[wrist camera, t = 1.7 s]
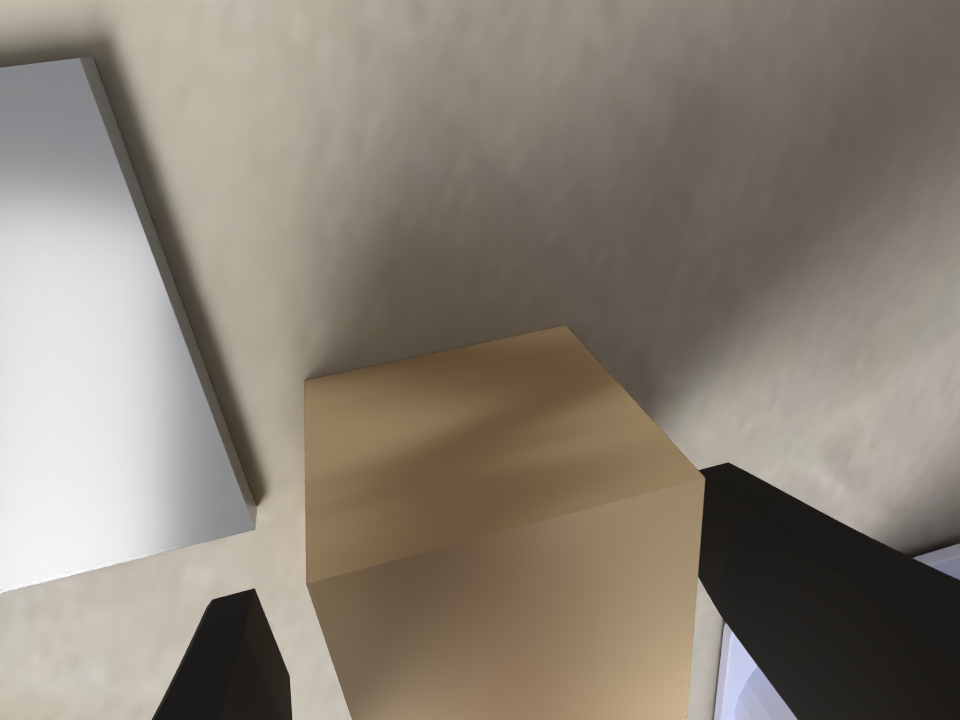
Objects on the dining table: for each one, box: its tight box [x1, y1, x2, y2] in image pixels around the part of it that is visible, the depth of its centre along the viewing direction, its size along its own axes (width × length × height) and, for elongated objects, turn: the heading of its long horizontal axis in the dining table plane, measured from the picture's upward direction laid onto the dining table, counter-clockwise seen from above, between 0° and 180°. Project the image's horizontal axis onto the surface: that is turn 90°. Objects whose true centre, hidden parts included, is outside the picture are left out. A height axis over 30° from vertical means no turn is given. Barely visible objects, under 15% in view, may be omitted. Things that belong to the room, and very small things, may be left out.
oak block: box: [304, 325, 705, 720], centre depth 11 cm, size 5×5×5 cm
